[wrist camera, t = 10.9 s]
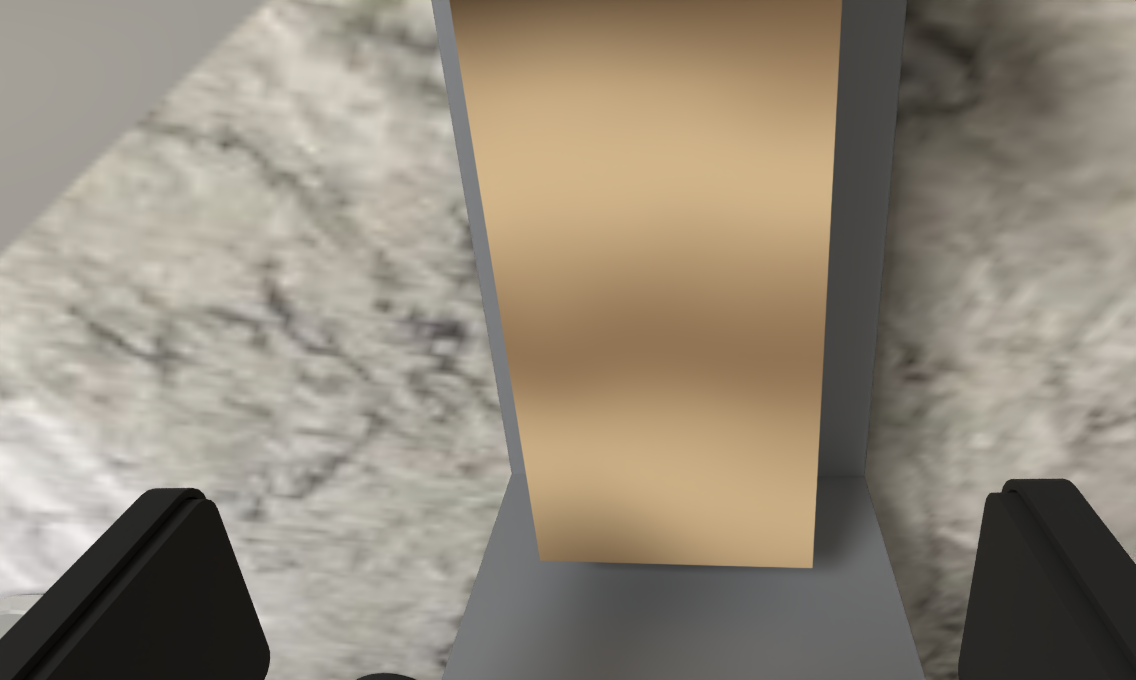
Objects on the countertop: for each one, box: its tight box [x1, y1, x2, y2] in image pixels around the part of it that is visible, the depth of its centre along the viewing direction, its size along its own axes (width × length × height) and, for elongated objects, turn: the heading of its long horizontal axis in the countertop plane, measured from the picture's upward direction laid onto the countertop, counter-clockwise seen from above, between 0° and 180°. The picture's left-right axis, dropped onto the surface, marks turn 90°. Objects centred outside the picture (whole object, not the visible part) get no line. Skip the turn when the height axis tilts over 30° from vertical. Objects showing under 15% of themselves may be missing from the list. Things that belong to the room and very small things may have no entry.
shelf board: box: [449, 0, 842, 568], centre depth 15 cm, size 12×6×2 cm, turn 6°
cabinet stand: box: [431, 0, 926, 680], centre depth 16 cm, size 10×17×10 cm, turn 6°
